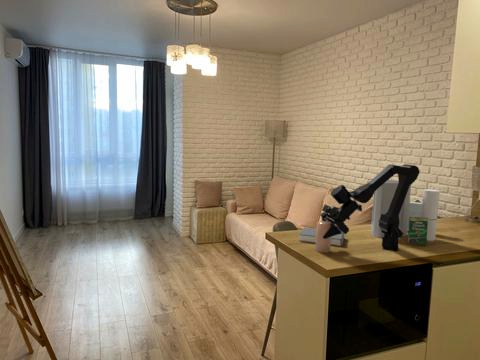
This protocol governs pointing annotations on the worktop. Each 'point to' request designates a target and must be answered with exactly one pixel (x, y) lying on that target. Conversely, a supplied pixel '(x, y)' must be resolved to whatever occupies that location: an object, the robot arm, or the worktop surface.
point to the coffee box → (417, 230)
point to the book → (310, 236)
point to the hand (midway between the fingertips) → (320, 236)
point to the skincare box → (414, 211)
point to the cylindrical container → (430, 211)
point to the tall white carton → (382, 205)
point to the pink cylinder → (322, 243)
